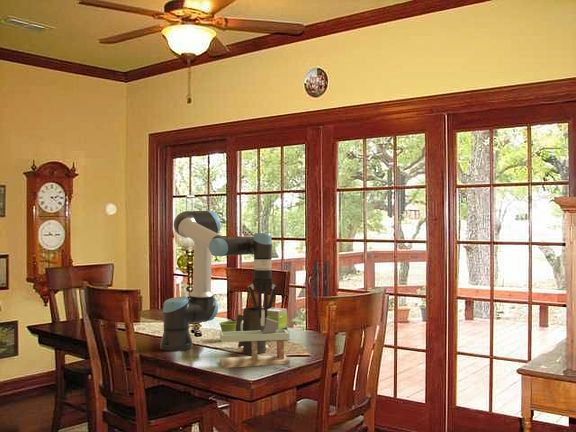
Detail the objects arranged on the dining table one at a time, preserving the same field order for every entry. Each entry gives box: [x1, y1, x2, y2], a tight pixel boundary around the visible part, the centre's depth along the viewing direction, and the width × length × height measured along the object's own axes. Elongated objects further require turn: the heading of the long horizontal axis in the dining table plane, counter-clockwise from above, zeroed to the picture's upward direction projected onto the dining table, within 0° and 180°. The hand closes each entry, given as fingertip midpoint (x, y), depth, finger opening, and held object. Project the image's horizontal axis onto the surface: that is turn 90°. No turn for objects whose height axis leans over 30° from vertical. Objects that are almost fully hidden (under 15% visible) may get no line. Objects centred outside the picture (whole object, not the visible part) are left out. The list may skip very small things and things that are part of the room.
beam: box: [219, 330, 290, 343], centre depth 259 cm, size 28×8×3 cm, turn 101°
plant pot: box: [219, 320, 237, 332], centre depth 308 cm, size 9×9×9 cm
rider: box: [261, 318, 278, 334], centre depth 260 cm, size 5×5×6 cm
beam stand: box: [219, 340, 291, 369], centre depth 259 cm, size 28×11×10 cm, turn 101°
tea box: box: [262, 306, 288, 332], centre depth 313 cm, size 15×10×15 cm, turn 62°
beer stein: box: [236, 306, 267, 354], centre depth 279 cm, size 15×11×20 cm
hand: (262, 325), depth 259 cm, fingers closed
